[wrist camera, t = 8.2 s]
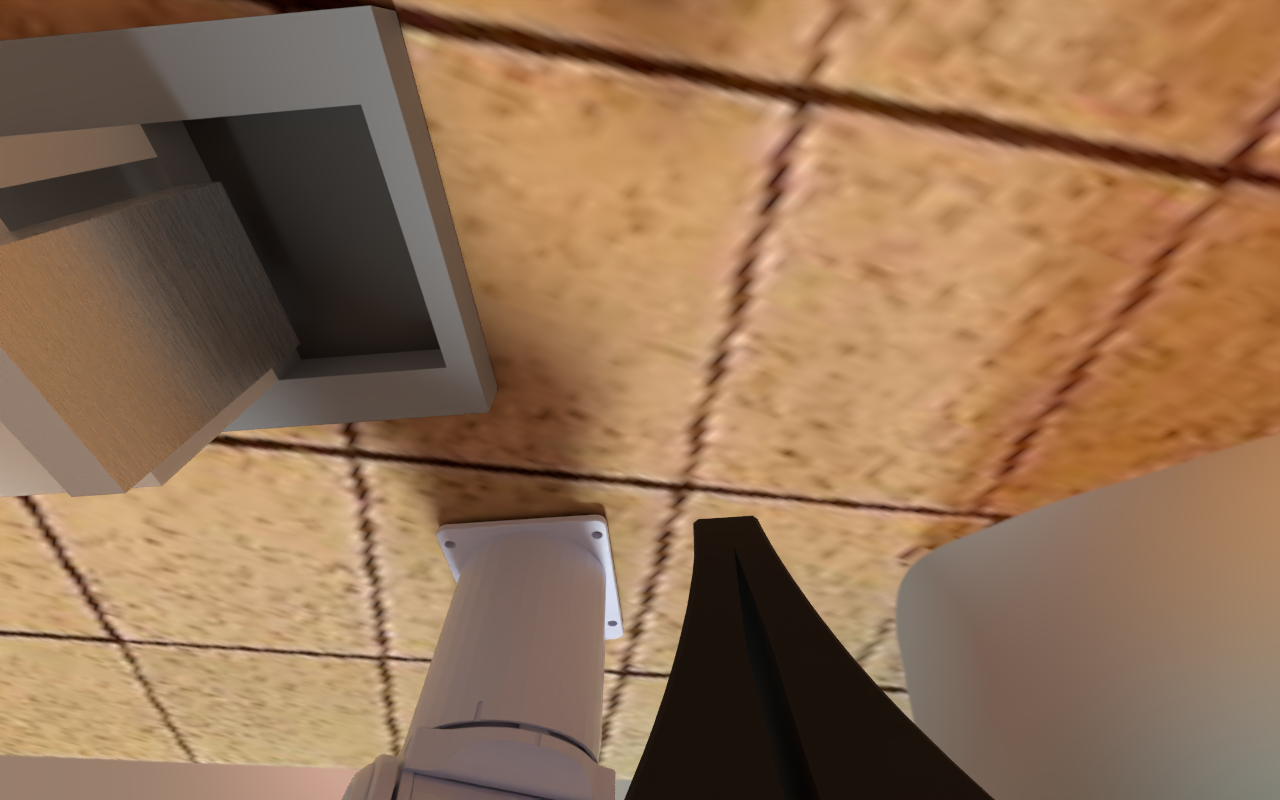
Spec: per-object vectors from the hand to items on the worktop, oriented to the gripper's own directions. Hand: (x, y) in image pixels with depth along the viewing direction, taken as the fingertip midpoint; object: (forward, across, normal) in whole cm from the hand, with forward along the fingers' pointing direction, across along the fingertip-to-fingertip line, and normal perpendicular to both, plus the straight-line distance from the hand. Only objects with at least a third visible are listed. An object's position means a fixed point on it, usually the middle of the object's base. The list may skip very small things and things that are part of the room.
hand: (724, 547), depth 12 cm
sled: (+8, +21, -5) cm, 23 cm away
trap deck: (+9, +19, -5) cm, 22 cm away
